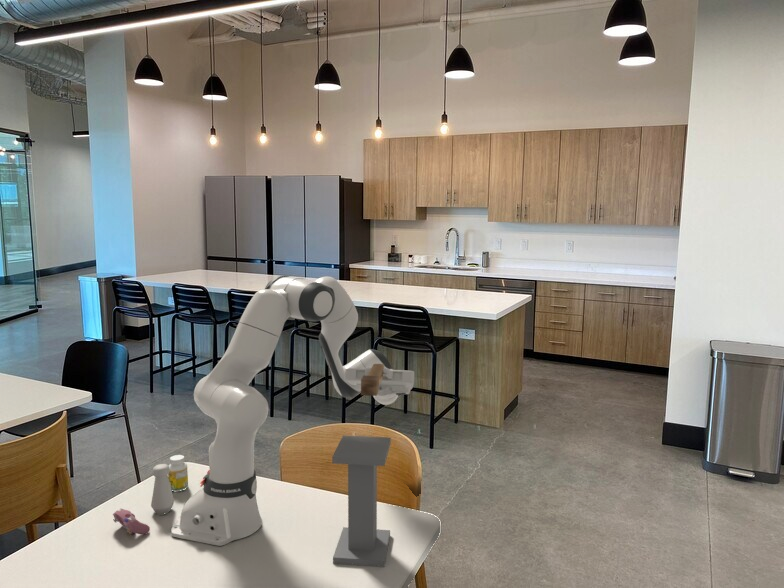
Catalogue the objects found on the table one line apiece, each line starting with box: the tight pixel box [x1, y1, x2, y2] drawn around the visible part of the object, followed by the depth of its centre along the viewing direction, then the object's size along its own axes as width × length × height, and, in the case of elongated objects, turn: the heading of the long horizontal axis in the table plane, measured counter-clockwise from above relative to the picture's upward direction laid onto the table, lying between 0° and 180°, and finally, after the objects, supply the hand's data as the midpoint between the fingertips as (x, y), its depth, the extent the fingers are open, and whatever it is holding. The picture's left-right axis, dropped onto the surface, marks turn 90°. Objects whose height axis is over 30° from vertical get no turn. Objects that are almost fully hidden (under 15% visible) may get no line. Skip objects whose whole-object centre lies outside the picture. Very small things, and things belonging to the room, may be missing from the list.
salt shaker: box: [150, 463, 175, 515], centre depth 154 cm, size 6×6×13 cm
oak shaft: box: [360, 364, 384, 397], centre depth 153 cm, size 4×20×4 cm, turn 174°
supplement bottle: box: [168, 454, 189, 491], centre depth 167 cm, size 5×5×10 cm
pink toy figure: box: [112, 507, 151, 535], centre depth 145 cm, size 10×5×7 cm, turn 49°
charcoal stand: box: [331, 435, 392, 568], centre depth 136 cm, size 12×13×26 cm
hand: (377, 370), depth 159 cm, fingers closed on oak shaft, 3 cm apart
